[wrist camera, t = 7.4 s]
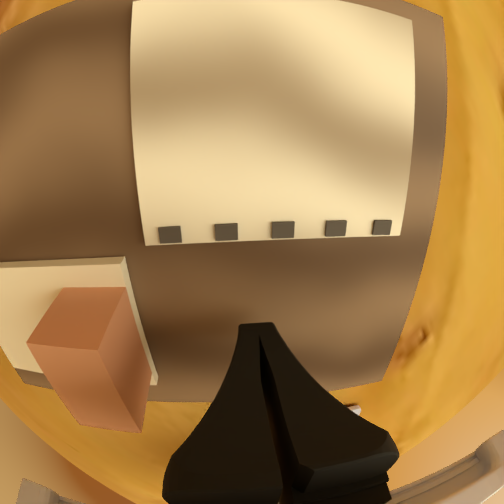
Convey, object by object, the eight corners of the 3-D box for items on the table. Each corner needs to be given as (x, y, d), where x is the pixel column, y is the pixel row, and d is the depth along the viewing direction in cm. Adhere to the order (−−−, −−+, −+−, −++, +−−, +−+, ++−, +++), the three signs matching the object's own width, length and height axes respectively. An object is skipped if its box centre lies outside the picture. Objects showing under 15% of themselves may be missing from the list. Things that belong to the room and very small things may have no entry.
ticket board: (374, 367, 17) (383, 385, 16) (30, 371, 15) (22, 387, 14) (427, 21, 8) (448, 15, 7) (-49, 77, 6) (-68, 79, 5)
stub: (158, 376, 14) (147, 443, 10) (17, 361, 13) (-8, 408, 9) (124, 256, 11) (87, 324, 7) (-30, 263, 10) (-73, 306, 6)
